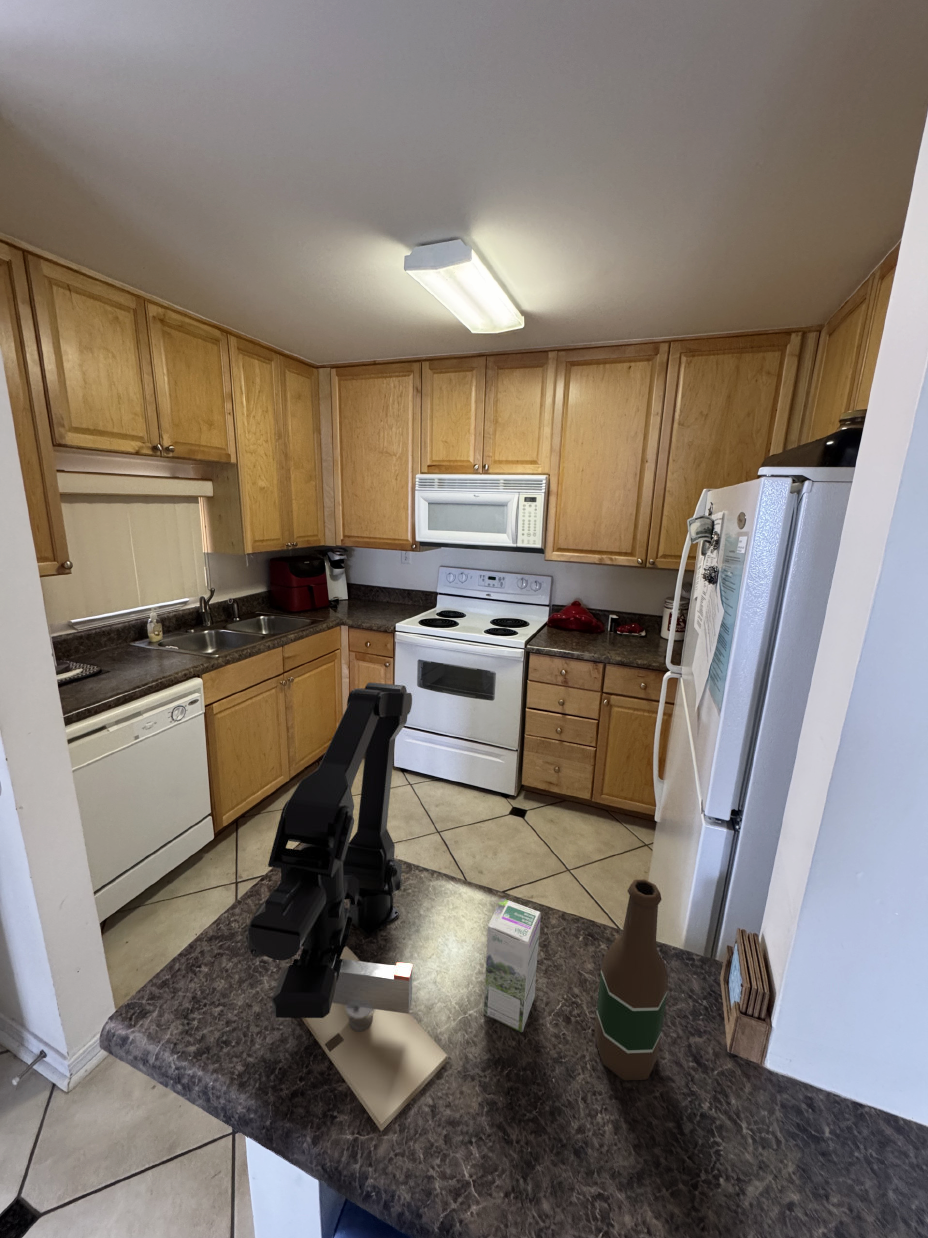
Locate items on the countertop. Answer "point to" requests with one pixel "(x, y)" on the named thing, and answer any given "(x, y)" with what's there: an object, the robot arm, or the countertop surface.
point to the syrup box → (511, 963)
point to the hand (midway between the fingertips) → (324, 990)
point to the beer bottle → (633, 990)
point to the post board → (378, 1056)
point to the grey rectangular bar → (373, 988)
